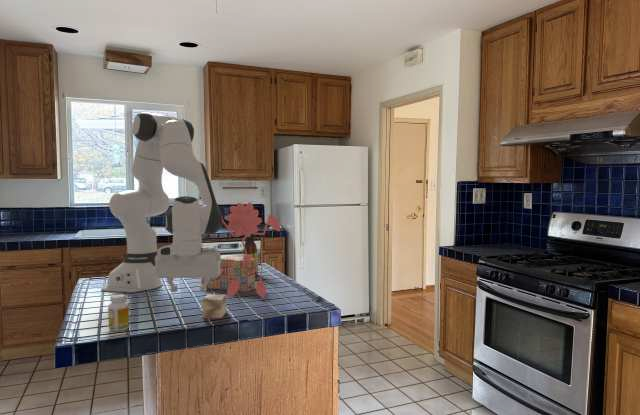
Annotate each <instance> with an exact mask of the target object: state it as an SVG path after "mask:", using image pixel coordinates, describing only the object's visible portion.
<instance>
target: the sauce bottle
mask: <svg viewBox="0 0 640 415" xmlns="http://www.w3.org/2000/svg"><path fill="white" fill-rule="evenodd" d="M254 235H255V234H251V236H250V237H246V239H245V240H244V245H245V249H246V252H247V254H248V255H250V257H251V258H255V261H256V262H259V260H258V259H259V257H258V256H259V254H258V248H257V245H256V243H255V238H254ZM242 249H243V251H242V253H243V254H242V257H244V255H246V253H245V250H244V248H242ZM256 262H255V277H256V276H257V277H258V275H259V264H258V263H256Z"/></svg>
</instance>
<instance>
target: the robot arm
mask: <svg viewBox="0 0 640 415" xmlns="http://www.w3.org/2000/svg"><path fill="white" fill-rule="evenodd" d="M132 133H133V136H134V137H135V138H136V139H137V140H138V142H137V145H136V147H135V154H134V156H133V164H132V168H131V174H132V176H133V177H134V178H135V179H136V180H137V182H138V189H135V190H133V189H132V190H131V189H130V190H123V191H120V192H116V193H114V194H113V195H112V196H111V197H110V199H109V202H108V205H109V206H108V207H109V211H110V212H111V214H112V215H113V216H114V217H115V218H116V219H118V220H119V222H120V223H121V224H122V226H123V229H124V231H125V237H126V238H125V239H126V248H127V249H126V250H127V251H126V252H125V253H123V254H122V255H121V256H120V258H121V259H122V262H121V263H120V264H119V265H118V266H117V267H114V269H113V270H112V271H110V272H109V274H108V277H107V283H105V284H103V285H102V286H101V288H100V289H101V291H104V292H121V293H122V292H123V293H137V292H142V291H148V290H153V289H157V288H160V287H162V286H163V282H162V280H161V279H166V282H167V284H168V285H169V286H170V292H172V293H173V292H174V293H176V292H177V291H178V285H176V284H175V283H174V282H173V280H175V279H186V278H187V279H201V278H204V281H205V283H204V285H202V286H200V292H203V293H205V292H206V291H207V289H208V288H207V287H206V285H207V284H208V282H209V280H210V278H217V277H218V276H219V275H220V274H221V267H220V259H222V257H221V256H222V255H221V252H220V250H218V249H217V248H214V247H210V248H208V247H207V248H206V247H203V237H202V235H210V236H213V235H215V234H216V233H217V232H219V231H220V230H221V229H222V227H223V224H222V219H223V216H222V212H221V209H220V206H219V204H218V202H217V200H216V196H215V192H214V190H213V187H212V183H211V181H210V176H209V174H208V172H207V168H206V167H205V165H204V164H203V163H202V162H200V161H199V160H198V159H197V157H196V156H195V154H194V150H193V143H192V142H193V140H194V137H195V128H194V125H193V124H192V123H191V122H190V121H188V120H186V119H181V118H178V117H176V116H171V115H165V114H159V113H151V112H149V111H147V112H146V111H144V112H139V113H137V114H136V115H135V116H134V118H133V121H132ZM164 170H166V172H168V173H170V174H171V175H173V176H175V177H178V178H181V179H184V180H187V181H190V182H192V183H193V184H194V185H196V187H197V189H198V192H199V195H200V198H201V201H202V202H201V203H202V205H200V201H199V199H198V198H196V197H194V196H186V195H185V196H177V197H175V198H174V199H173V201H172V202H173V204H172V207H170V200H169V196H168V195H167V193H166V192H165V190H164V188H163V182H162V181H163V179H162V178H163V173H164V172H163V171H164ZM169 207H170V208H169ZM162 214H164V218H165V228H164V229H165V230H166V231H167V232H168V233H169V234H171V235H173V236H172V243H169V244H167V245H163V246H161V247H159V248H158V245H157V244H158V243H157V231H156V230H155V229H154V228H152V227H151V226H149V224H148V222H147V217H148V218H149V217H157V216H160V215H162Z"/></svg>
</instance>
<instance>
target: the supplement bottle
mask: <svg viewBox="0 0 640 415" xmlns="http://www.w3.org/2000/svg"><path fill="white" fill-rule="evenodd" d="M109 298H110V303H109V304H108V306H107V315H108V316H107V317H108V330H109V331H111V332H120V331H121V332H122V331H125V330H128V329H129V327H130V318H129V317H130V315H129V314H130V313H129V303H128V302H127V301H126V294H124V293H122V294H121V293H119V294H113V295H110V297H109Z"/></svg>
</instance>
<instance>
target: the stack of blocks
mask: <svg viewBox="0 0 640 415" xmlns="http://www.w3.org/2000/svg"><path fill="white" fill-rule="evenodd" d="M243 257H244V256H231V255H230V256H226V257H221V259H220V267H221V274H220V275H219V276H218V277H217V278H210V280H209V282H208V284H207V285H206V287H207V289H212V288H213V289H214V290H223V291H224V290H225V291H227V290H228V287H229V285H230V284H231V283H232V282H233V281H234V273H235V280H236V281H238V283H239V288H238V290H237V291H238V292H242V293H249V292H251V291H253V290H256V276H255V262H254V261H255V258H251V260H254V261H251V260H250V261H249V262H245V261H244V260H242V259H243ZM240 260H242V261H240ZM238 261H240V262H238ZM236 262H238V263H236ZM234 263H236V264H234ZM233 264H234V273H233ZM200 279H201V284H200V285H201V286H202V285H204V283H205V281H204V278H200Z"/></svg>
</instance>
